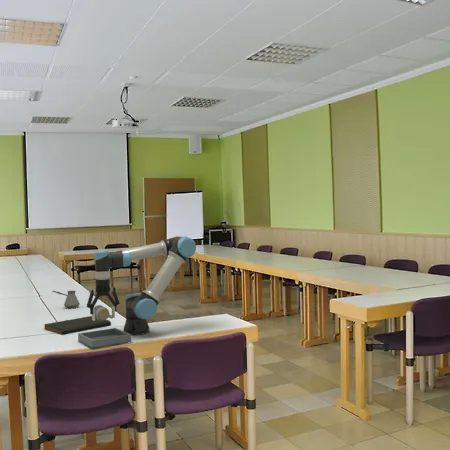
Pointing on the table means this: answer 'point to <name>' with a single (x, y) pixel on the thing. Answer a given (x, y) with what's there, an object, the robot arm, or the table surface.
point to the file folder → (76, 325)
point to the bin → (104, 338)
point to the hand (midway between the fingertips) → (103, 318)
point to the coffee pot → (70, 299)
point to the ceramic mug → (102, 313)
